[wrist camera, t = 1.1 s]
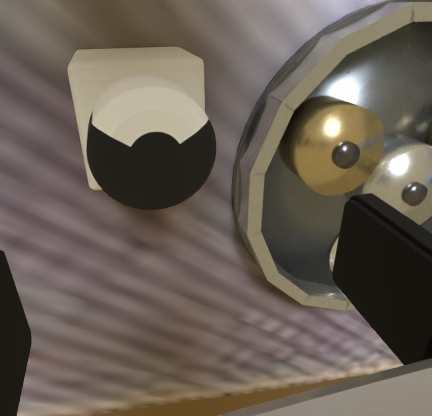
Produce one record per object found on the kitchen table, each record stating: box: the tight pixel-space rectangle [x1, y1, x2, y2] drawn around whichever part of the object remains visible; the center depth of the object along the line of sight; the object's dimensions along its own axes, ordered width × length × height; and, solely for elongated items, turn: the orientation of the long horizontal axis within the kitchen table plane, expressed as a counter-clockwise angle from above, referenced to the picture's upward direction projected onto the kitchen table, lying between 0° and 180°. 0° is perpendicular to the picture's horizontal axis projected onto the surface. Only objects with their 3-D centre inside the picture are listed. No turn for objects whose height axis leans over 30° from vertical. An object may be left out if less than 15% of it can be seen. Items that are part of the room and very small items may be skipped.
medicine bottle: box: [67, 46, 216, 210], centre depth 22 cm, size 7×7×12 cm
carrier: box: [232, 0, 432, 311], centre depth 33 cm, size 29×29×6 cm
